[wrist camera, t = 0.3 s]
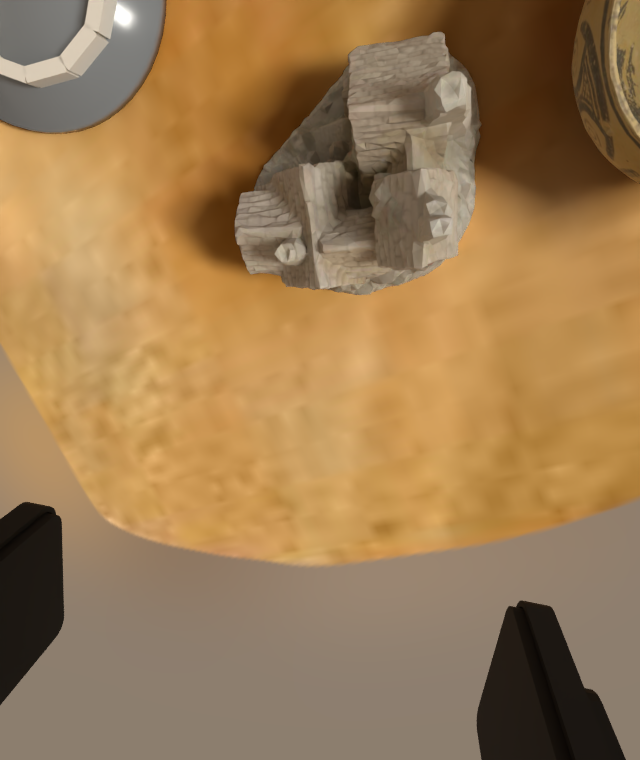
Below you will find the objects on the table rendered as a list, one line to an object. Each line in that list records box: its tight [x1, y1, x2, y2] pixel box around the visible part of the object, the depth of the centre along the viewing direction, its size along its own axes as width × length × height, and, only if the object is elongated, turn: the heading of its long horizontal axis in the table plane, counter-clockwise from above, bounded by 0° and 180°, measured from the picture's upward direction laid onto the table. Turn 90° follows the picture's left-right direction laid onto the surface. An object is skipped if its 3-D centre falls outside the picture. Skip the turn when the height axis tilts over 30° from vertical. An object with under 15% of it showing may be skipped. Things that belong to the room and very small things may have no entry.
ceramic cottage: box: [235, 32, 482, 295], centre depth 31 cm, size 16×16×15 cm
